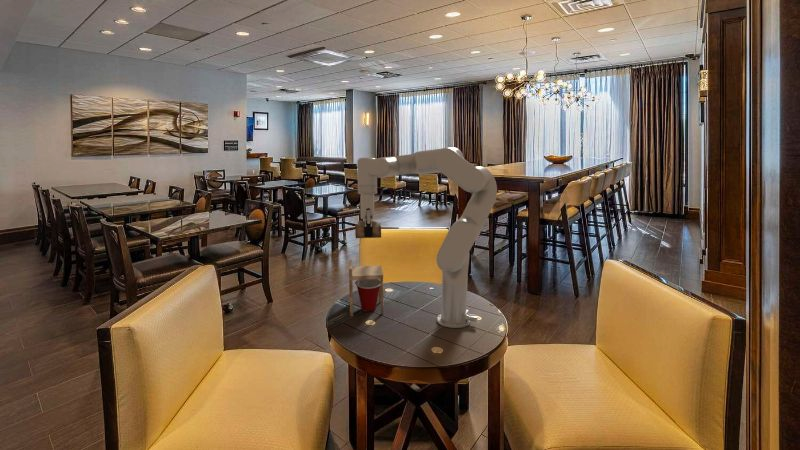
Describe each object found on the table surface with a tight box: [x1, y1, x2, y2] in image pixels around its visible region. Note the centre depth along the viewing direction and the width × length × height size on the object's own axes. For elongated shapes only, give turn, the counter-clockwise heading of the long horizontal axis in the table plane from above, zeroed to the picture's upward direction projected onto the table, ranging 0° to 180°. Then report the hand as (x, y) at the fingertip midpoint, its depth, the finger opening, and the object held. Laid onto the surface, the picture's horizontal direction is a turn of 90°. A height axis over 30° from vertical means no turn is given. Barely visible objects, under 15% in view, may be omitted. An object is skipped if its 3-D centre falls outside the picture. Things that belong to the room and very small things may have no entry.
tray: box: [354, 220, 382, 239], centre depth 169 cm, size 10×6×6 cm, turn 97°
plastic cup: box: [354, 279, 381, 312], centre depth 174 cm, size 11×11×12 cm
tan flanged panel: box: [348, 259, 384, 317], centre depth 174 cm, size 13×13×20 cm
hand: (368, 234), depth 170 cm, fingers closed on tray, 6 cm apart
